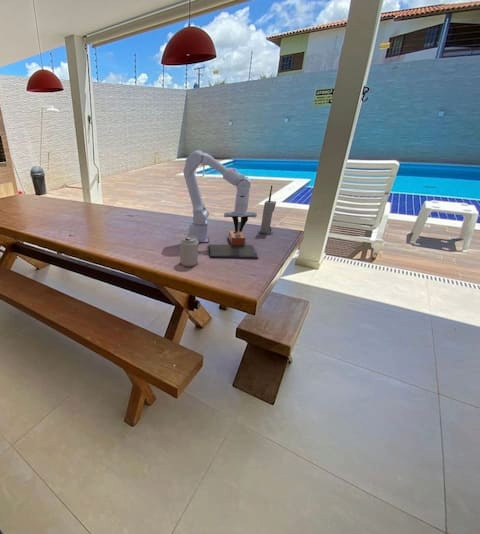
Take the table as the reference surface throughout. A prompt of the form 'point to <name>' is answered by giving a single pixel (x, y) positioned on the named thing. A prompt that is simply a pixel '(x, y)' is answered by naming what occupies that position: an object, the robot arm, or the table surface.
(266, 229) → the vintage mobile phone
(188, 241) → the can
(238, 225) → the stylus
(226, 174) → the robot arm
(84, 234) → the table surface
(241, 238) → the pen stand
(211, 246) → the tablet
